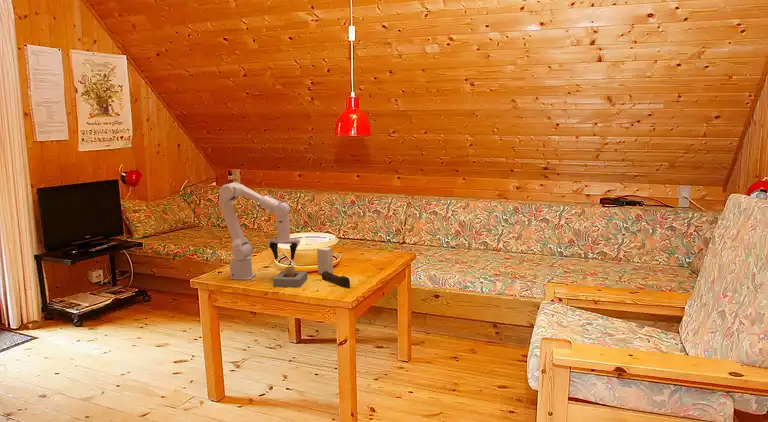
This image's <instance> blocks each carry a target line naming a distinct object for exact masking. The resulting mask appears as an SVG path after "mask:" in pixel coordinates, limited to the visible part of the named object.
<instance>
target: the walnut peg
mask: <svg viewBox="0 0 768 422" xmlns="http://www.w3.org/2000/svg"><path fill="white" fill-rule="evenodd" d="M284 268H285V270H284V271H286V277H295V271H296V270H295V269H296V268H295V266H290V265H289V266H286V267H284Z"/></svg>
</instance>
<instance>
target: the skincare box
mask: <svg viewBox="0 0 768 422" xmlns="http://www.w3.org/2000/svg"><path fill="white" fill-rule="evenodd" d="M316 254H317V256H316V257H317V258H316V259H317V274H322V273H323V272H324V271H328V272H329V273H331V274H334V266H333V263H334V261H333V260H334V259H333V248H332V247H324V246H320V247H318V248H316Z"/></svg>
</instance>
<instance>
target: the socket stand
mask: <svg viewBox="0 0 768 422" xmlns="http://www.w3.org/2000/svg"><path fill="white" fill-rule="evenodd" d="M307 280H308V271H298V270H297V271H296V270H295V277H286V270H281V271H280V272H278V273H277V274H276V276H274V277H273V278H272V284H273V285H272V286H273V287H275V288H301V287H302V286H303V285H304V284H305V283H306V281H307Z"/></svg>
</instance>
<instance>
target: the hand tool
mask: <svg viewBox="0 0 768 422" xmlns="http://www.w3.org/2000/svg"><path fill="white" fill-rule="evenodd" d="M321 279H322V280H324V281H329V282H332V283H334V284H337V285H339V286H340V287H341V288H347V289H350V288H351V281H350V278H349V277H347V276H345V275H341V276H339V275H337V274H334V273H329V272H328V271H324V272H323V273H322V274H321Z"/></svg>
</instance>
